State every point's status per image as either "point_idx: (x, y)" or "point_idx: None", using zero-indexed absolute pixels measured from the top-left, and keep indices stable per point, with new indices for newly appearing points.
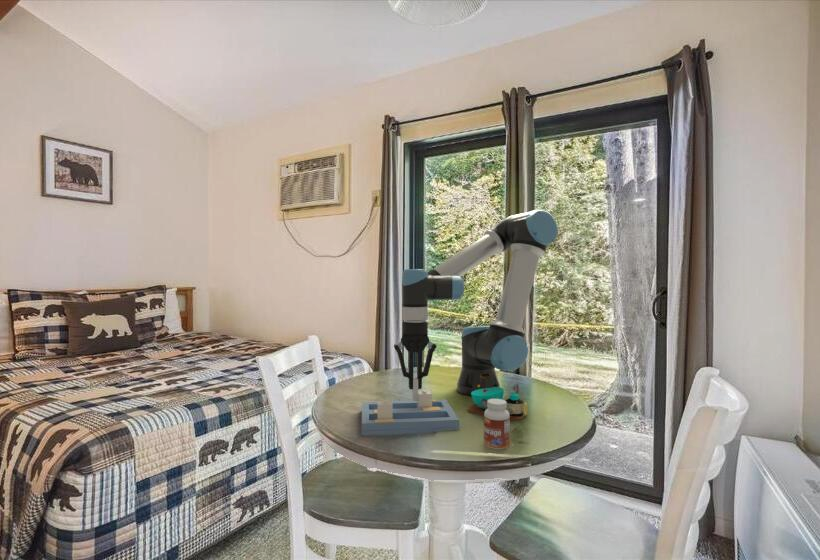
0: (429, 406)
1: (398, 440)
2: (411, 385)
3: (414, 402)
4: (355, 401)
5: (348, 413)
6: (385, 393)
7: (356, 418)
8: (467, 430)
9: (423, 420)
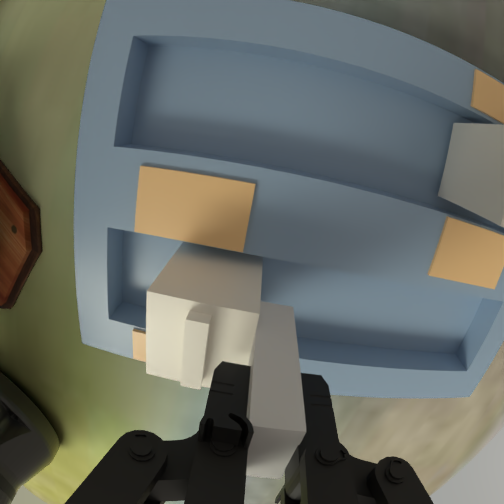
0: (190, 257)
1: (436, 10)
2: (310, 396)
3: None
4: (409, 457)
5: None
6: None
7: None
8: (94, 27)
9: (315, 16)
